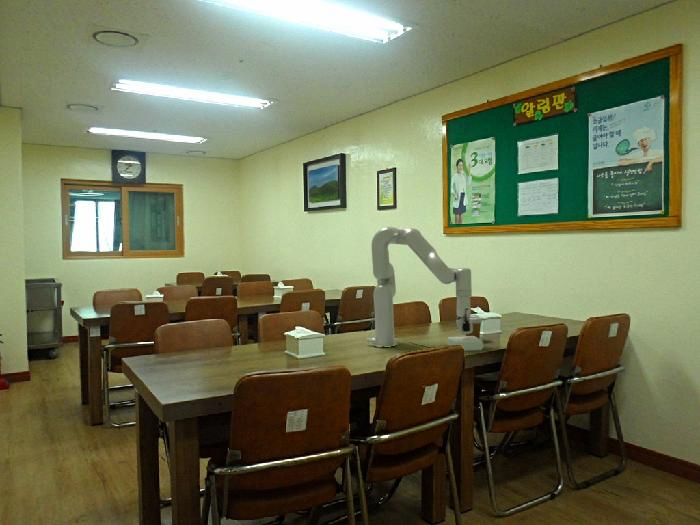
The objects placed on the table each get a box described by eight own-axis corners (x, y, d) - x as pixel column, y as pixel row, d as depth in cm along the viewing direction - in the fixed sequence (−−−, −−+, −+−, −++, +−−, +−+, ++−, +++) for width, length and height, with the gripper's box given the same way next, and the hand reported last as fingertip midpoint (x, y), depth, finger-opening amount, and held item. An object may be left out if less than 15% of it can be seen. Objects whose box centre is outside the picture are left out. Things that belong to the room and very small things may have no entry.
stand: (453, 350, 253) (453, 341, 253) (447, 345, 267) (447, 336, 267) (483, 349, 253) (482, 341, 253) (475, 344, 267) (474, 335, 267)
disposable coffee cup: (484, 342, 270) (483, 319, 270) (465, 343, 271) (464, 319, 270) (480, 339, 280) (479, 316, 279) (461, 339, 280) (461, 317, 280)
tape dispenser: (465, 336, 263) (452, 321, 263) (476, 327, 262) (462, 312, 262) (466, 338, 257) (452, 322, 258) (476, 329, 256) (462, 313, 257)
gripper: (452, 292, 268) (452, 327, 268) (460, 295, 250) (461, 333, 251) (466, 291, 268) (467, 327, 268) (476, 295, 251) (477, 332, 251)
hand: (464, 329), depth 260 cm, fingers closed on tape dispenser, 6 cm apart
